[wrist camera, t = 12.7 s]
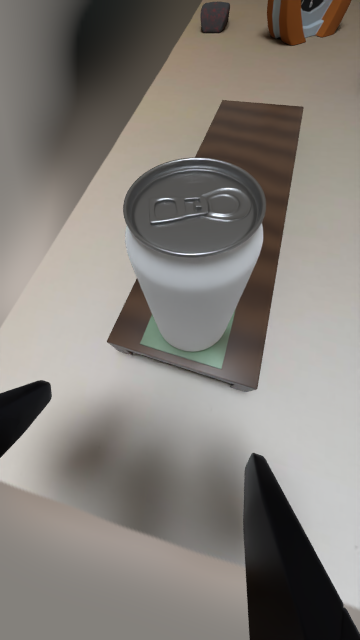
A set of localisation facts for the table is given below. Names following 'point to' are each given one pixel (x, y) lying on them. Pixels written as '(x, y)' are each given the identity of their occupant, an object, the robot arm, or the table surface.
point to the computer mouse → (214, 16)
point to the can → (194, 245)
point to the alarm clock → (304, 18)
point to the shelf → (255, 302)
